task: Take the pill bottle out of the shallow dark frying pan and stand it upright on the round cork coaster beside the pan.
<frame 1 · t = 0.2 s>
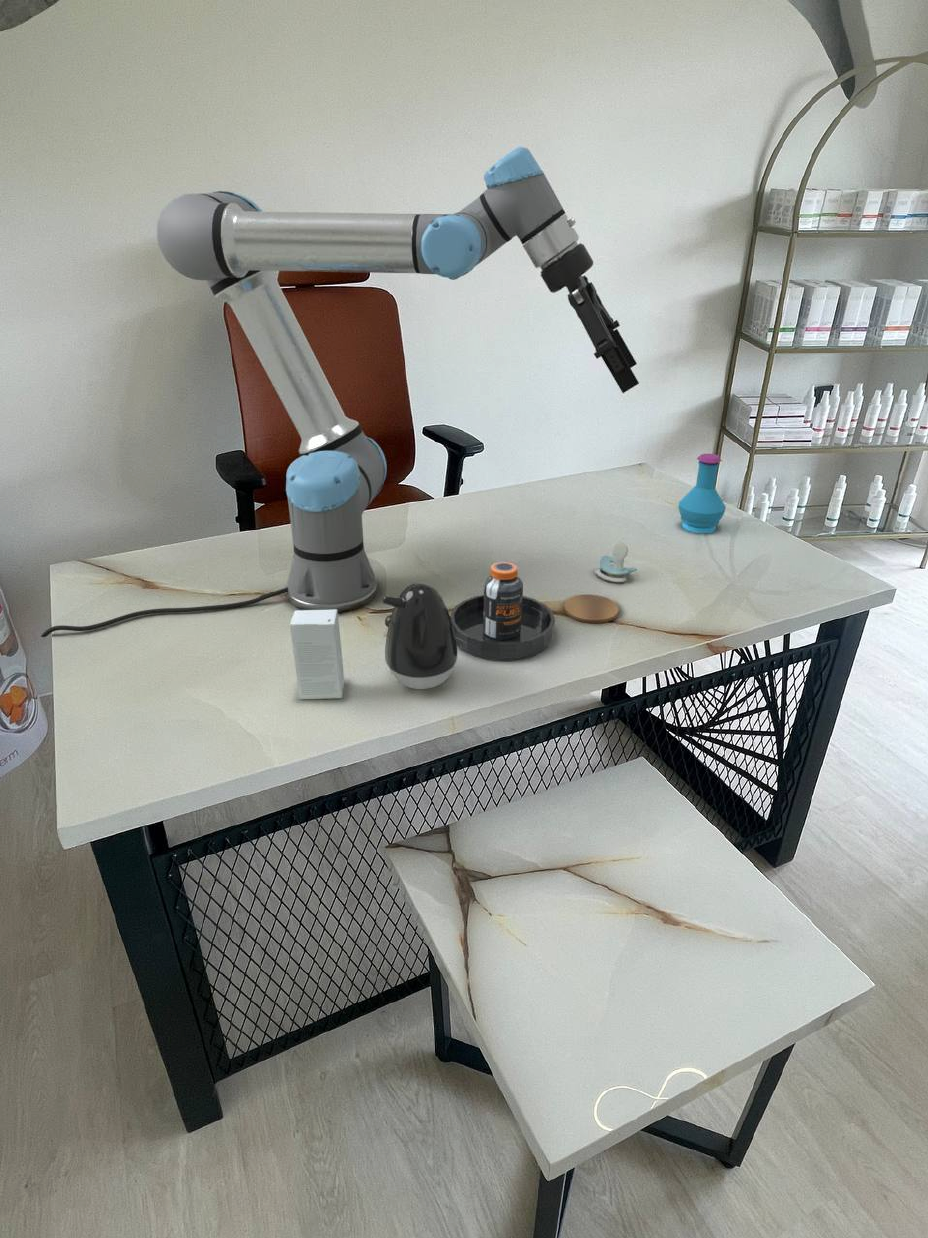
hand: (630, 377, 127), 35 cm above the table, tool tilted 35°, fingers open, 13 cm apart
pacifier: (613, 576, 145), on the table
pill bottle: (501, 632, 127), resting on pan
coaster: (591, 610, 134), on the table
cosmetic box: (322, 692, 113), on the table
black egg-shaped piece: (421, 680, 115), on the table
perfume bottle: (698, 527, 165), on the table
pan: (501, 633, 127), on the table
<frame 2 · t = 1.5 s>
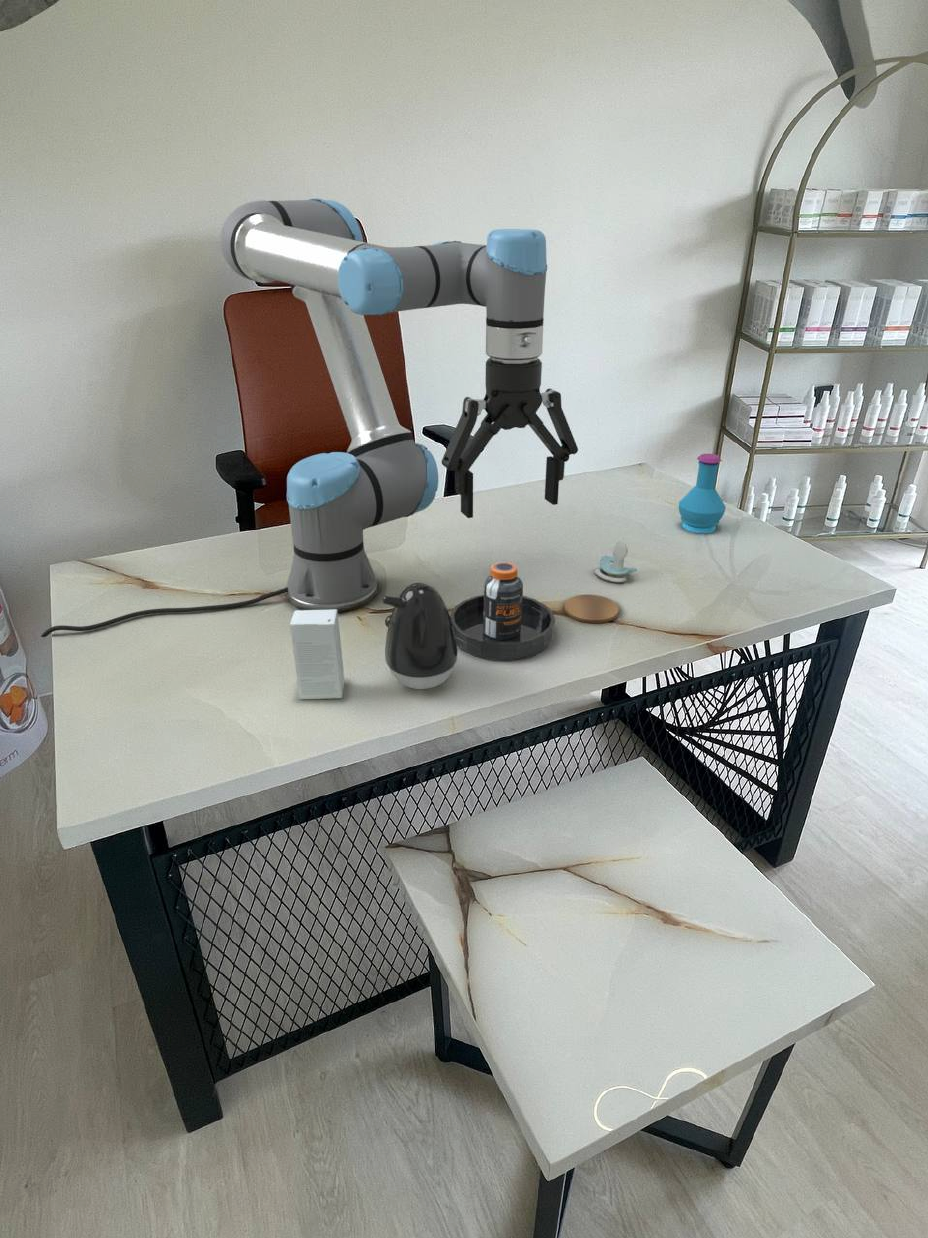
hand: (509, 508, 117), 21 cm above the table, tool pointing down, fingers open, 13 cm apart
nothing on the table moved.
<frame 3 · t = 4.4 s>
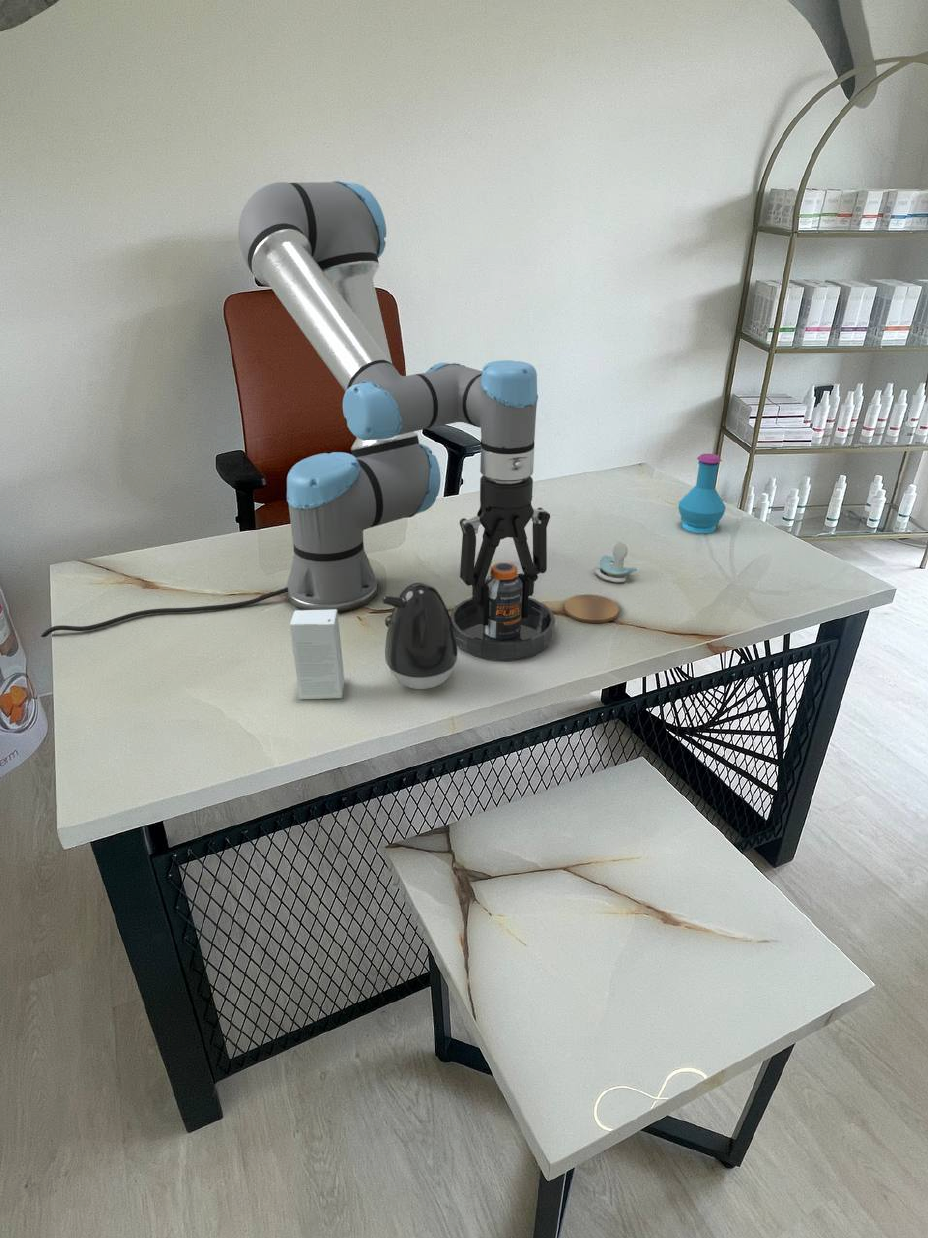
hand: (502, 617, 125), 3 cm above the table, tool pointing down, fingers closed on pill bottle, 6 cm apart
pill bottle: (501, 632, 127), resting on pan, touching gripper
everything else where it was.
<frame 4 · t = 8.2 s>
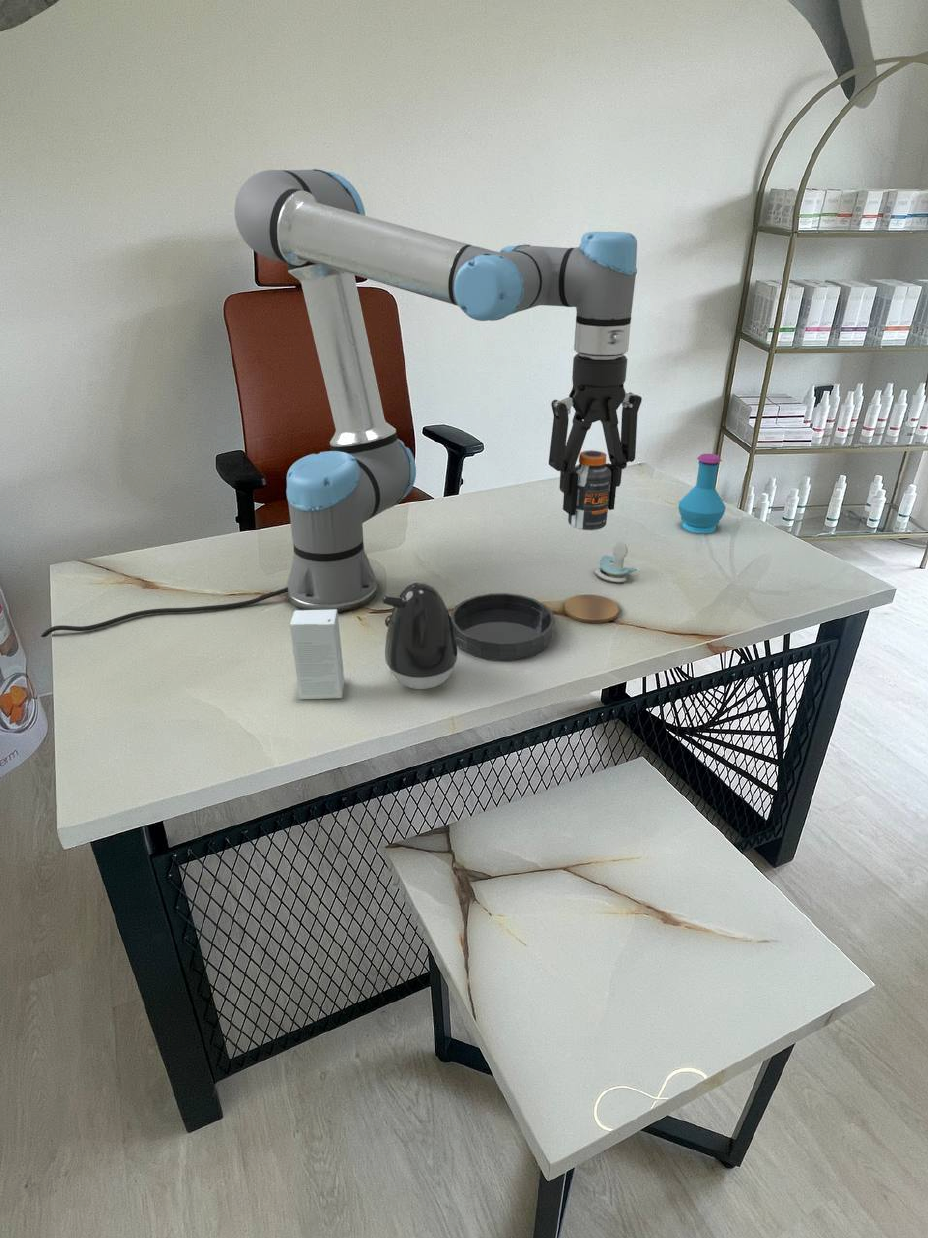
hand: (588, 509, 124), 18 cm above the table, tool pointing down, fingers closed on pill bottle, 6 cm apart
pill bottle: (587, 525, 125), point 16 cm above the table, touching gripper
everything else where it was.
when the fingers open (3 cm above the table, at t = 12.0 s): pill bottle stays where it is, resting on coaster.
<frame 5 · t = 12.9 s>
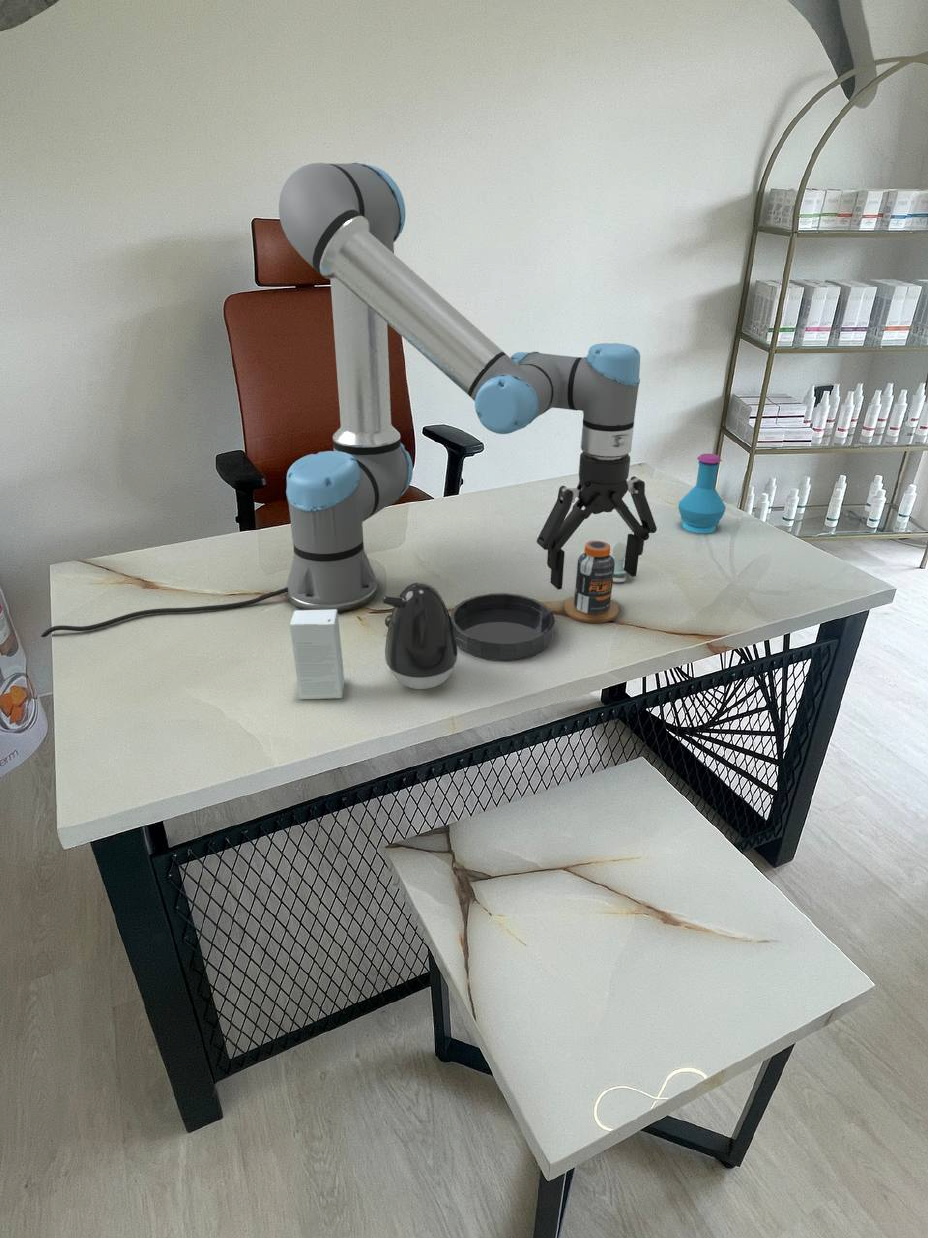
hand: (593, 579, 131), 6 cm above the table, tool pointing down, fingers open, 13 cm apart
pill bottle: (591, 608, 134), resting on coaster
everything else where it was.
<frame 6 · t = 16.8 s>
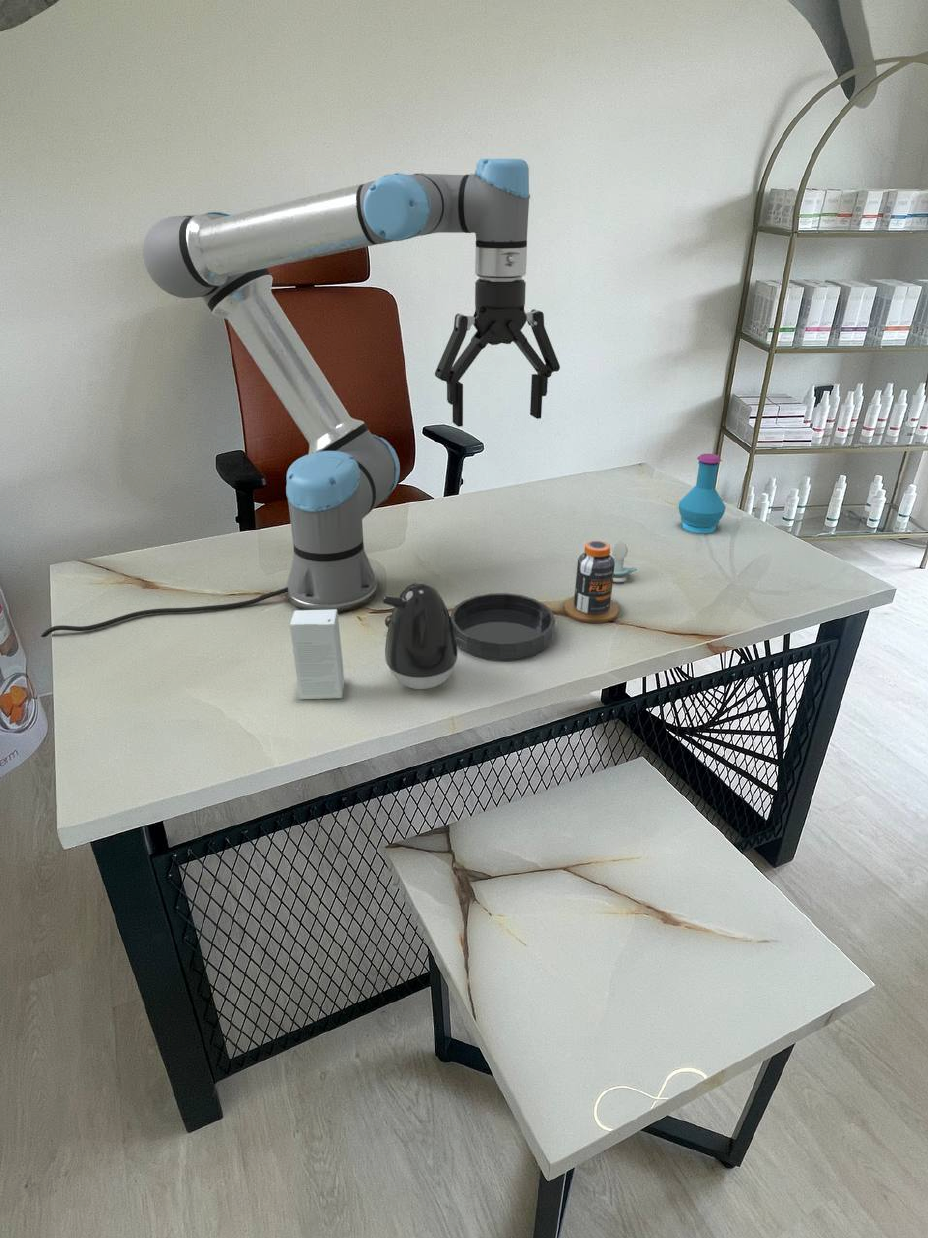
hand: (497, 420, 129), 29 cm above the table, tool pointing down, fingers open, 13 cm apart
nothing on the table moved.
at the end: pill bottle 0.1 cm off-centre on the coaster, point 0.4 cm above the coaster's base; pill bottle tilted 0°; pill bottle touching coaster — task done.
